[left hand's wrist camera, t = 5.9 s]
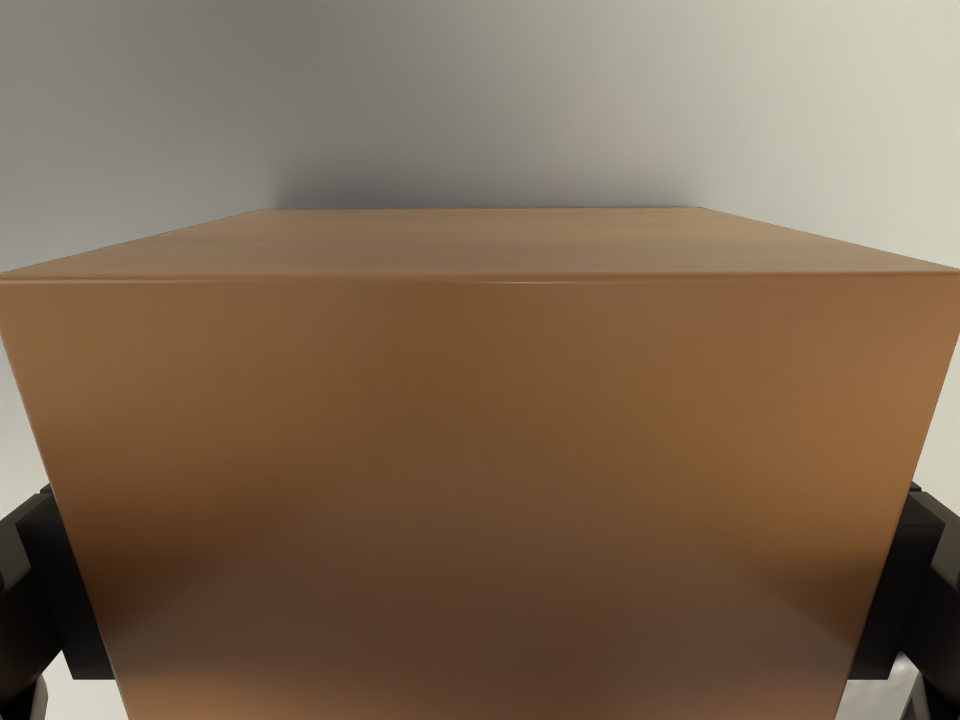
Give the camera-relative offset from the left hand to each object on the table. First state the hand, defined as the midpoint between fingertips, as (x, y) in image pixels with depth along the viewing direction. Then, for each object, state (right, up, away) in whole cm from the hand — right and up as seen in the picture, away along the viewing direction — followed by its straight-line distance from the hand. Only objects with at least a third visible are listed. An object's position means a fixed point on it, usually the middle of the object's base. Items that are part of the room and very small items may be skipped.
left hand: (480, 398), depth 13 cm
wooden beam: (0, -21, +9) cm, 23 cm away
